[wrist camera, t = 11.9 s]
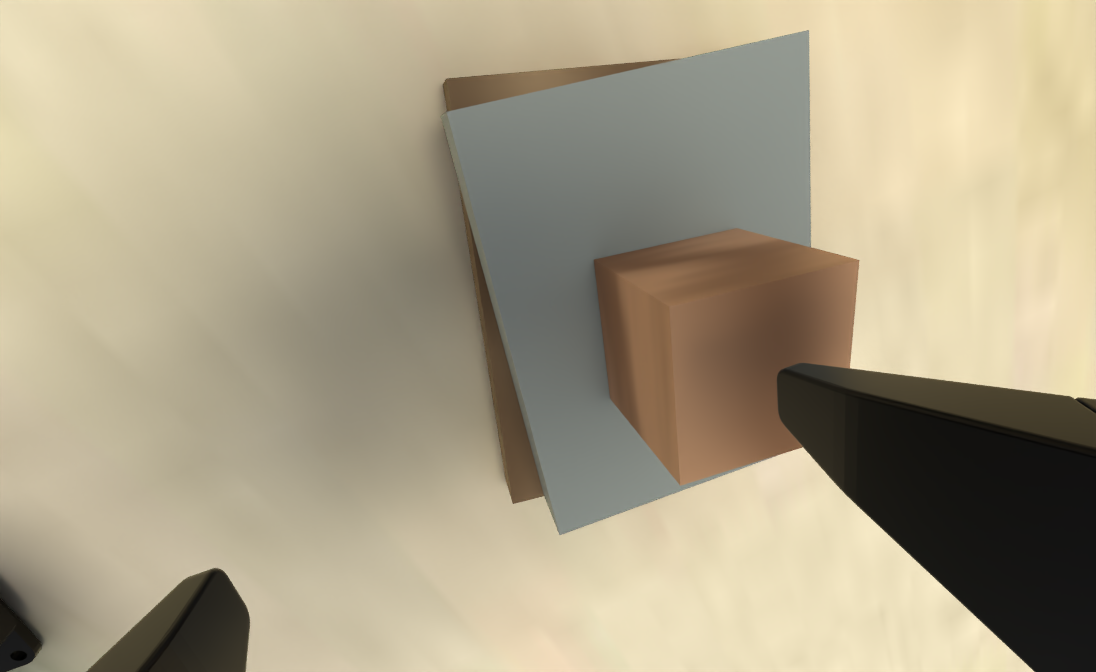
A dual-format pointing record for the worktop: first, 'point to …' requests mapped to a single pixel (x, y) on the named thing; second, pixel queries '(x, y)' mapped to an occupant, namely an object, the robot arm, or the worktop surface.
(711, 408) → the terracotta block
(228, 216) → the worktop surface
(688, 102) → the slate grey slab
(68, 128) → the worktop surface
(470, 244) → the walnut slab
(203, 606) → the robot arm
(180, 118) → the worktop surface
